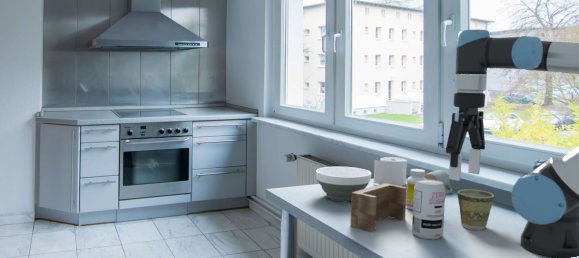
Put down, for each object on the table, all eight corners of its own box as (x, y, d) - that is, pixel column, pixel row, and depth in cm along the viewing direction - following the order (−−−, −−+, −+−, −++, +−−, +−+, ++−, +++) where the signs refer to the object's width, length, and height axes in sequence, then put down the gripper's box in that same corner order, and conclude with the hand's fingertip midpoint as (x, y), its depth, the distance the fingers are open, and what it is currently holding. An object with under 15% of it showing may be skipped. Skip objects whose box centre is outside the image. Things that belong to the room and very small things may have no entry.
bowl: (312, 191, 186) (313, 166, 184) (364, 191, 186) (365, 166, 185) (317, 204, 166) (318, 177, 165) (375, 205, 167) (376, 177, 166)
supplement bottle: (426, 211, 161) (429, 172, 159) (405, 210, 162) (407, 171, 160) (425, 206, 167) (427, 168, 166) (405, 205, 168) (407, 167, 167)
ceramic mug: (420, 190, 191) (421, 170, 190) (432, 187, 196) (433, 168, 195) (444, 196, 183) (445, 175, 182) (456, 193, 188) (457, 173, 187)
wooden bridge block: (405, 219, 152) (406, 187, 150) (372, 232, 138) (373, 197, 137) (384, 214, 157) (385, 183, 156) (350, 226, 144) (351, 192, 142)
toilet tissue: (410, 183, 201) (411, 159, 200) (395, 188, 193) (396, 163, 191) (387, 179, 209) (388, 156, 207) (372, 184, 200) (373, 159, 199)
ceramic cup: (478, 234, 139) (481, 199, 138) (448, 224, 147) (450, 191, 146) (504, 226, 147) (506, 193, 145) (474, 218, 155) (476, 186, 153)
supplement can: (419, 228, 143) (422, 177, 141) (447, 235, 137) (450, 182, 136) (406, 235, 136) (409, 182, 135) (435, 242, 131) (438, 186, 130)
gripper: (474, 90, 137) (469, 168, 140) (434, 91, 120) (429, 180, 122) (501, 91, 132) (496, 172, 135) (464, 93, 115) (458, 185, 117)
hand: (464, 176), depth 129 cm, fingers open, 11 cm apart
